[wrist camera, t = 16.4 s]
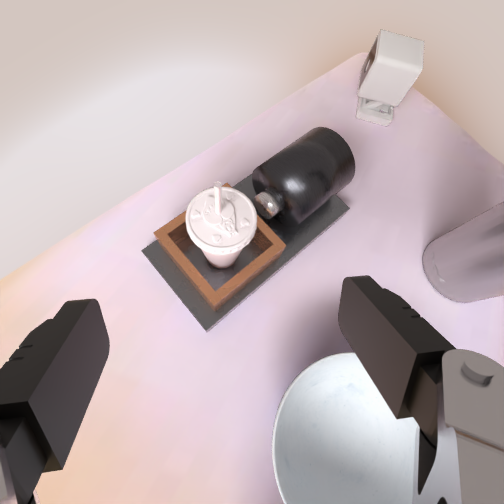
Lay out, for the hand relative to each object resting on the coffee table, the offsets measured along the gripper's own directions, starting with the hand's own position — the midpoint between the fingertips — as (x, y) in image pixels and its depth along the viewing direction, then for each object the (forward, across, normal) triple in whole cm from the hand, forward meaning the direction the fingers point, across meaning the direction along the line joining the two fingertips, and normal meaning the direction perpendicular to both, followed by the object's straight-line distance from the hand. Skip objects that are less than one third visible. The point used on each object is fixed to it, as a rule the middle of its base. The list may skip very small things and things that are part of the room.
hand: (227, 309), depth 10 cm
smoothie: (+24, 0, +9) cm, 25 cm away
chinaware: (+11, -10, +25) cm, 29 cm away
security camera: (+42, -26, -6) cm, 50 cm away
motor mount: (+27, -4, +8) cm, 29 cm away
